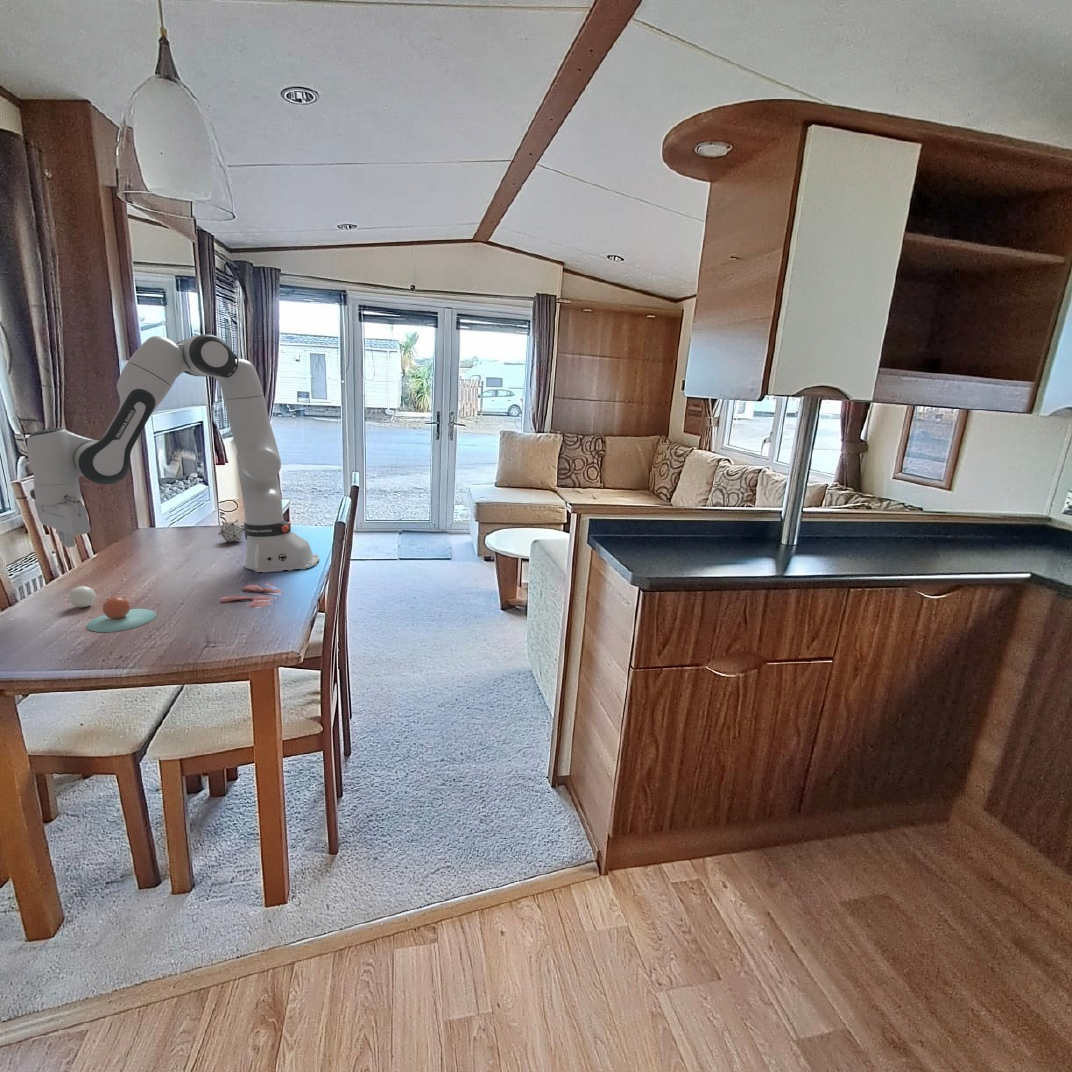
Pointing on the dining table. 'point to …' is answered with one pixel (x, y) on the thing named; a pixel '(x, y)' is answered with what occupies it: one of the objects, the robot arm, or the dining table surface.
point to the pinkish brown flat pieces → (255, 603)
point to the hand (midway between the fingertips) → (68, 546)
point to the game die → (231, 531)
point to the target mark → (121, 621)
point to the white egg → (82, 596)
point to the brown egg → (116, 607)
